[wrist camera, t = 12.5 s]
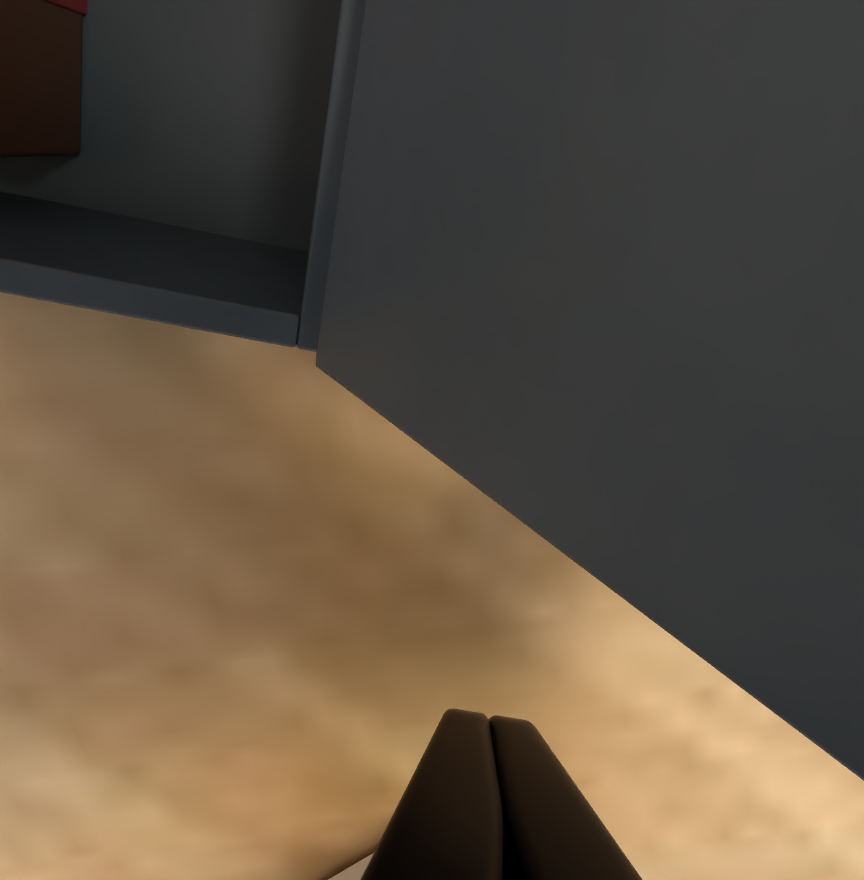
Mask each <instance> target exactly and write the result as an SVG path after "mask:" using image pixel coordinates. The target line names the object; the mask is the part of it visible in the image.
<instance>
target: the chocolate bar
mask: <svg viewBox="0 0 864 880" xmlns="http://www.w3.org/2000/svg"><path fill="white" fill-rule="evenodd" d="M86 13H87V0H0V158H5V157H33V156H62V155H77V154H79V151H80V98H81V38H82V15H83V16H84V15H86Z"/></svg>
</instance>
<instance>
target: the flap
mask: <svg viewBox="0 0 864 880" xmlns="http://www.w3.org/2000/svg"><path fill="white" fill-rule="evenodd" d="M316 366H317V367H318V368H319V369H321V370H322V371H323V372H325V373H326V374H327V375H329V376H330V377H331V378H333V379H334V380H335V381H337V382H338V383H339V384H341V385H342V386H343V387H345V388H346V389H347V390H348V391H350V392H351V393H352V394H354V395H355V396H356V397H358V398H359V399H360V400H362V401H363V402H364V403H366V404H367V405H368V406H370V407H371V408H372V409H374V410H375V411H376V412H378V413H379V414H380V415H382V416H383V417H384V418H385V419H387V420H388V421H389V422H391V423H392V424H393V425H395V426H396V427H397V428H399V429H400V430H401V431H403V432H404V433H405V434H407V435H408V436H409V437H411V438H412V439H413V440H415V441H416V442H417V443H419V444H420V445H421V446H422V447H424V448H425V449H426V450H428V451H429V452H430V453H432V454H433V455H434V456H436V457H437V458H438V459H440V460H441V461H442V462H444V463H445V464H446V465H448V466H449V467H450V468H452V469H453V470H454V471H456V472H457V473H458V474H459V475H461V476H462V477H463V478H465V479H466V480H467V481H469V482H470V483H471V484H473V485H474V486H475V487H477V488H478V489H479V490H481V491H482V492H483V493H485V494H486V495H487V496H489V497H490V498H491V499H493V500H494V501H495V502H496V503H498V504H499V505H500V506H502V507H503V508H504V509H506V510H507V511H508V512H510V513H511V514H512V515H514V516H515V517H516V518H518V519H519V520H520V521H522V522H523V523H524V524H526V525H527V526H528V527H530V528H531V529H532V530H533V531H535V532H536V533H537V534H539V535H540V536H541V537H543V538H544V539H545V540H547V541H548V542H549V543H551V544H552V545H553V546H555V547H556V548H557V549H559V550H560V551H561V552H563V553H564V554H565V555H567V556H568V557H569V558H570V559H572V560H573V561H574V562H576V563H577V564H578V565H580V566H581V567H582V568H584V569H585V570H586V571H588V572H589V573H590V574H592V575H593V576H594V577H596V578H597V579H598V580H600V581H601V582H602V583H604V584H605V585H606V586H607V587H609V588H610V589H611V590H613V591H614V592H615V593H617V594H618V595H619V596H621V597H622V598H623V599H625V600H626V601H627V602H629V603H630V604H631V605H633V606H634V607H635V608H637V609H638V610H639V611H641V612H642V613H643V614H644V615H646V616H647V617H648V618H650V619H651V620H652V621H654V622H655V623H656V624H658V625H659V626H660V627H662V628H663V629H664V630H666V631H667V632H668V633H670V634H671V635H672V636H674V637H675V638H676V639H678V640H679V641H680V642H681V643H683V644H684V645H685V646H687V647H688V648H689V649H691V650H692V651H693V652H695V653H696V654H697V655H699V656H700V657H701V658H703V659H704V660H705V661H707V662H708V663H709V664H711V665H712V666H713V667H714V668H716V669H717V670H718V671H720V672H721V673H722V674H724V675H725V676H726V677H728V678H729V679H730V680H732V681H733V682H734V683H736V684H737V685H738V686H740V687H741V688H742V689H744V690H745V691H746V692H748V693H749V694H750V695H751V696H753V697H754V698H755V699H757V700H758V701H759V702H761V703H762V704H763V705H765V706H766V707H767V708H769V709H770V710H771V711H773V712H774V713H775V714H777V715H778V716H779V717H781V718H782V719H783V720H785V721H786V722H787V723H788V724H790V725H791V726H792V727H794V728H795V729H796V730H798V731H799V732H800V733H802V734H803V735H804V736H806V737H807V738H808V739H810V740H811V741H812V742H814V743H815V744H816V745H818V746H819V747H820V748H822V749H823V750H824V751H825V752H827V753H828V754H829V755H831V756H832V757H833V758H835V759H836V760H837V761H839V762H840V763H841V764H843V765H844V766H845V767H847V768H848V769H849V770H851V771H852V772H853V773H855V774H856V775H857V776H859V777H860V778H861V779H862V780H864V0H366V6H365V13H364V20H363V27H362V34H361V41H360V49H359V56H358V63H357V70H356V77H355V84H354V91H353V99H352V106H351V113H350V120H349V127H348V134H347V141H346V148H345V156H344V163H343V170H342V177H341V184H340V191H339V198H338V206H337V213H336V220H335V227H334V234H333V241H332V248H331V255H330V263H329V270H328V277H327V284H326V291H325V298H324V305H323V313H322V320H321V327H320V334H319V341H318V348H317V355H316Z"/></svg>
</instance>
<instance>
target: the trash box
mask: <svg viewBox="0 0 864 880" xmlns="http://www.w3.org/2000/svg"><path fill="white" fill-rule="evenodd" d="M365 6H366V0H87V13H86V15H84V16H83V15H82V38H81V98H80V151H79V154H77V155H62V156H33V157H5V158H0V292H2V293H7V294H12V295H18V296H23V297H28V298H33V299H39V300H44V301H49V302H55V303H60V304H65V305H70V306H76V307H81V308H86V309H92V310H97V311H102V312H107V313H113V314H118V315H123V316H129V317H134V318H139V319H144V320H150V321H155V322H160V323H166V324H171V325H176V326H182V327H187V328H192V329H197V330H203V331H208V332H213V333H219V334H224V335H229V336H234V337H240V338H245V339H250V340H256V341H261V342H266V343H271V344H277V345H282V346H287V347H295V346H296V345H297V347H298V348H300V349H303V350H309V351H314V352H317V348H318V341H319V334H320V327H321V320H322V313H323V305H324V298H325V291H326V284H327V277H328V270H329V263H330V255H331V248H332V241H333V234H334V227H335V220H336V213H337V206H338V198H339V191H340V184H341V177H342V170H343V163H344V156H345V148H346V141H347V134H348V127H349V120H350V113H351V106H352V99H353V91H354V84H355V77H356V70H357V63H358V56H359V49H360V41H361V34H362V27H363V20H364V13H365Z"/></svg>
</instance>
